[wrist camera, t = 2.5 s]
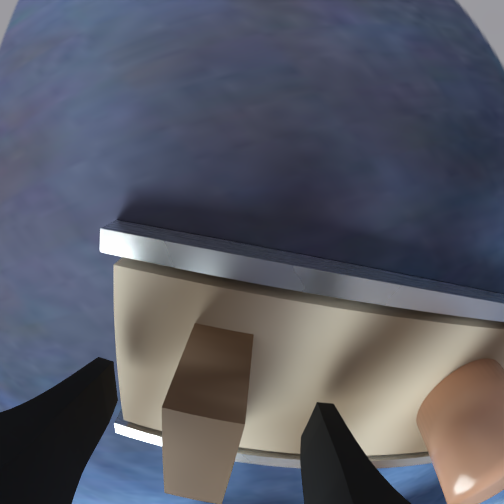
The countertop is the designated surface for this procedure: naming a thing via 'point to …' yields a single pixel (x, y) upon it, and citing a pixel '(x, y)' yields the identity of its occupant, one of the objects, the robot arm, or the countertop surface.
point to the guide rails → (298, 279)
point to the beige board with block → (273, 367)
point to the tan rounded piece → (466, 431)
